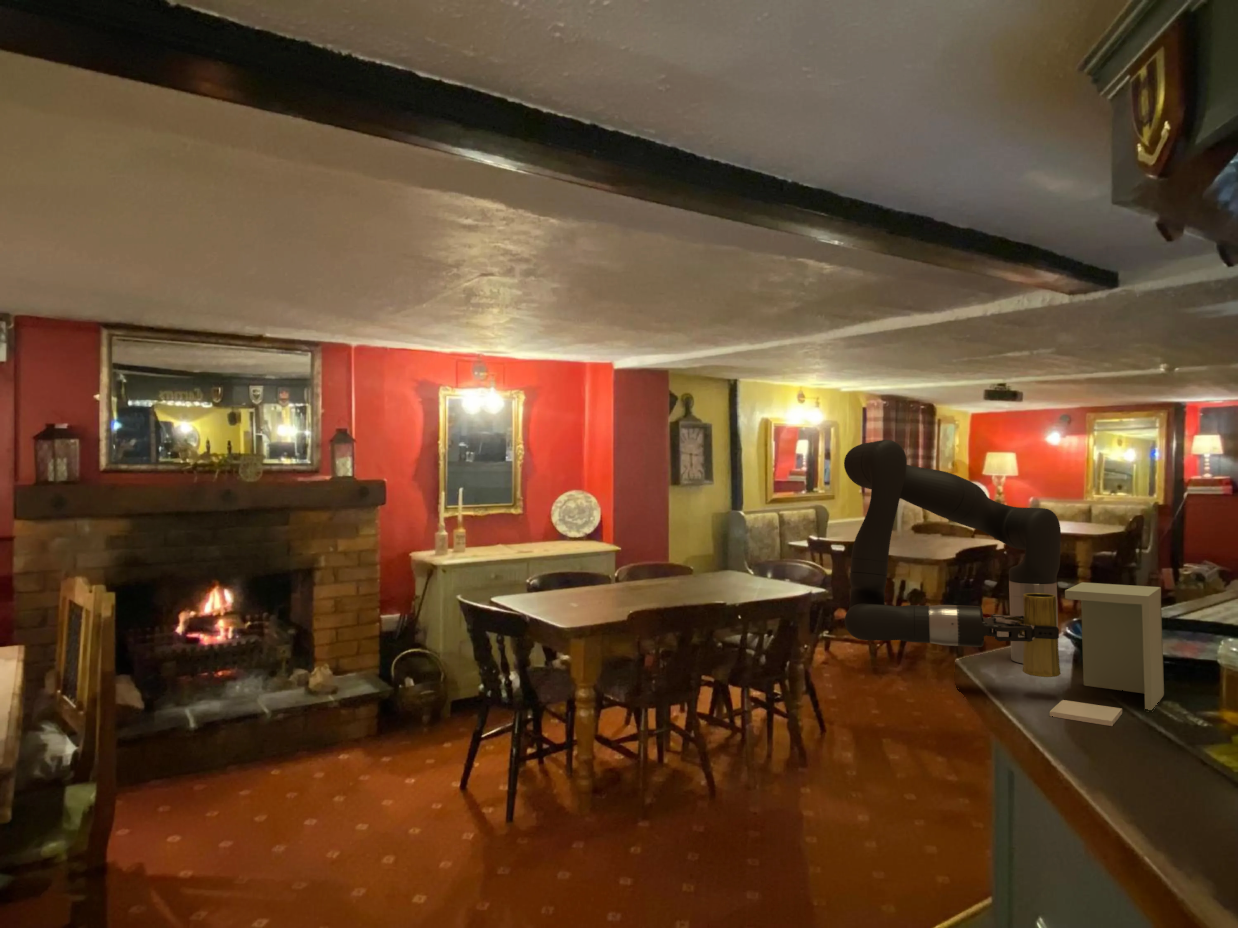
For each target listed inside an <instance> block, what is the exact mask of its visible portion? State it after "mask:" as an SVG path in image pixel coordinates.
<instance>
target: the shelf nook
mask: <svg viewBox="0 0 1238 928" xmlns="http://www.w3.org/2000/svg"><path fill="white" fill-rule="evenodd" d="M1064 599H1065V600H1076V601H1080V602H1081V603H1080V604H1081V637H1082V642H1081V643H1082V645H1081V646H1082V671H1083V672H1082V674H1083V686H1086V687H1092V688H1093V687H1094V688H1100V689H1109V690H1115V691H1116V690H1117V691H1122V690H1123V692H1131V693H1139V694H1144V710H1145V709H1148V710H1152V709H1153V708H1154V707H1155V705H1157V706H1158V704H1159V703H1160V701H1161V700H1162V698H1163V697H1164V696H1165V684H1164V680H1165V679H1164V648H1163V647H1164V646H1163V645H1164V643H1163V623H1162V622H1163V618H1162V617H1163V616H1162V614H1163V613H1162V587H1161V586H1149V585H1148V586H1146V585H1129V584H1117V583H1116V584H1114V583H1113V584H1112V583H1097V582H1083V581H1081V582H1080V583H1078V584H1076V585H1073V586H1072V587H1069V588H1068V589H1065V590H1064ZM1158 702H1159V703H1158ZM1157 703H1158V704H1157ZM1155 708H1156V707H1155ZM1155 708H1154V709H1155Z"/></svg>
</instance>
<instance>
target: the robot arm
mask: <svg viewBox="0 0 1238 928" xmlns="http://www.w3.org/2000/svg"><path fill="white" fill-rule="evenodd" d="M907 462H908V461H907V455H906V453H905V450H904V449H903V447H902V446H901V444H900V443H898V442H896V441H894V440H891V439H882V440H877V441H870V442H863V443H861V444H858V445H855V446H854V447H852V448H851V449H849V451H848V452H847V453H846V455H845V457H844V460H843V463H844V464H843V466H844V470H845V473H846V475H847V477H848V478H849V480H851V481H852V483H854V484H855V485H857V486H859V487H861V488H865V489H868V490H871V491H870V498H869V499H870V500H869V505H868V508H867V512H866V514H865V516H864V519H863V521H862V523H861V525H860V528H859V529H858V531H857V534H856V537H855V538H854V543H853V544H852V551H851V556H850V557H851V559H850V568H849V583H850V598H849V607H848V610H847V611H846V614H845V616H844V626H845V629H846V631H847V632H848V633H849V634H850V636H852V637H853V638H855V639H856V640H860V641H902V642H908V643H922V644H935V645H940V646H954V647H974V648H975V647H976V648H981V647H983V646H984V643H985V639H984V638H985V637H986V636H987V637H994V640H996V641H998V642H1010V657H1011V658H1010V659H1011V661H1013V662H1015V663H1018V664H1019V663H1020V664H1023V651H1024V641H1027V642H1030V641H1032V640H1033V639H1035V638H1039V639H1057V641H1058V642H1059V638H1060V629H1059V617H1058V611H1059V610H1058V587H1057V586H1058V585H1057V579H1058V578H1057V576H1058V573H1059V570H1060V566H1061V548H1062V546H1061V545H1062V544H1061V543H1062V542H1061V541H1062V530H1061V529H1062V528H1061V524H1060V520H1059V518H1058V516H1057V515H1056V513H1055V512H1054V511H1052V510H1051V509H1049V508H1043V507H1020V506H1013V505H1012V506H1010V505H1007V504H1004V503H1001V502H998V501H995V500H993V499H991V498H989V497H988V495H987V494H986V492H985V491H984V490H983V489H982V488H981V487H980V486H979V485H978V484H976V483H974V482H972V481H971V480H968V479H966V478H964V477H961V476H958V475H956V474H953V473H951V472H948V471H947V472H946V471H944V470H938V469H934V468H927V467H926V468H925V467H919V466H914V465H910V464H907ZM900 500H903V501H906V502H907V503H908V504H909V503H910V504H912V505H913V506H916V507H918V508H921V509H923V510H926V512H927V511H928V512H930V513H932V514H934V515H936V516H938V517H941V518H944V519H946V520H949V521H950V522H954V523H957V524H959V525H962V526H966V527H967V528H972V529H975V530H979V531H980V532H983V533H985V534H986V535H988V536H990V537H992V538H993V539H995V540H998V541H999V542H1001V543H1003V544H1004V545H1006V546H1008V547H1010V548H1013V549H1017V550H1025V551H1024V558H1023V561H1022V562H1021V563H1019V564H1017V565H1013V566H1012V567H1010V568H1009V569H1008V589H1009V592H1008V594H1009V595H1008V596H1009V614H1007V615H1006V614H996V613H993V614H991V617H984V613H983V607H981V606H980V605H959V604H958V605H954V604H937V605H936V604H935V605H920V604H919V605H916V604H913V605H910V604H909V605H908V604H907V605H889V604H888V605H887V604H885V603H886V598H885V597H886V587H887V578H888V568H889V559H890V557H889V555H890V547H891V546H890V545H891V538H892V533H893V530H894V529H893V528H894V524H895V520H896V515H897V513H898V506H899V504H900ZM1026 593H1046V594H1053V595H1055V597H1056V621H1057V627H1056V626H1039V625H1032V624H1030V625H1028V624H1024V606H1023V595H1024V594H1026ZM1024 630H1025V635H1024ZM1058 652H1059V650H1058ZM1059 653H1060V652H1059Z"/></svg>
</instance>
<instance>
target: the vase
mask: <svg viewBox="0 0 1238 928" xmlns="http://www.w3.org/2000/svg"><path fill="white" fill-rule="evenodd" d="M1023 606H1024V624H1028V625H1030V624H1032V625H1039V626H1056V627H1057V621H1056V597H1055V595H1053V594H1046V593H1026V594H1024V595H1023ZM1024 635H1025V630H1024ZM1058 651H1059V640H1058V641H1057V639H1039V638H1035V639H1033V640H1032V641H1030V642H1027V641H1024V651H1023V663H1022V672H1023V673H1024V674H1027V675H1029V676H1032V677H1033V676H1034V677H1040V678H1041V677H1043V678H1053V677H1054V678H1055V677H1059V676H1060V675H1061V667H1060V666H1061V665H1060V654H1059V653H1060V652H1058Z"/></svg>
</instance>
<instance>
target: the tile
mask: <svg viewBox="0 0 1238 928" xmlns="http://www.w3.org/2000/svg"><path fill="white" fill-rule="evenodd" d="M1122 714H1123V708H1120V707H1113V706H1107V705H1098V704H1095V703H1094V704H1093V703H1087V702H1079V701H1073V700H1066V699H1065V700H1064V699H1062V700H1060V701H1059V703H1057V704H1056V705H1055V706H1054V707H1053V708H1052V709H1051V710H1050V711H1049V717H1052V716H1053V718H1059V719H1065V720H1071V721H1077V722H1083V723H1090V724H1096V725H1102V726H1109V727H1113V725H1115V723H1116V722H1117V721H1118V719H1120V717H1121V715H1122Z"/></svg>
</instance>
